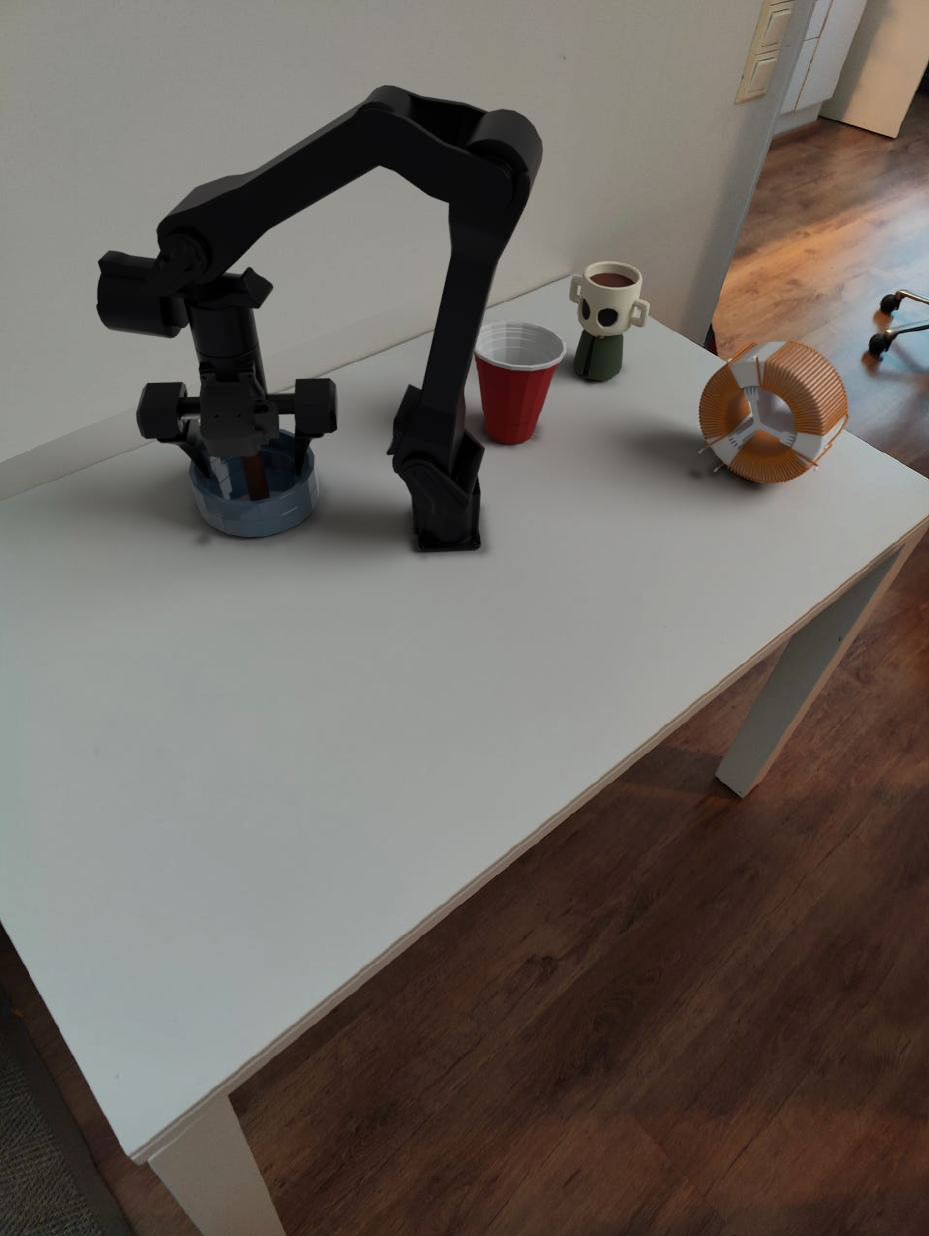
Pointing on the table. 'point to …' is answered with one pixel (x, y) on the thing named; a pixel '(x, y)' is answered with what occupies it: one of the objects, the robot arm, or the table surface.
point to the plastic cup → (515, 376)
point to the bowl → (240, 516)
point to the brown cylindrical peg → (255, 476)
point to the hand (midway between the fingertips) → (254, 475)
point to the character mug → (606, 315)
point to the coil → (773, 411)
